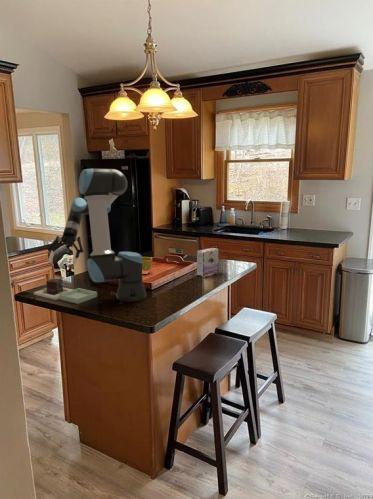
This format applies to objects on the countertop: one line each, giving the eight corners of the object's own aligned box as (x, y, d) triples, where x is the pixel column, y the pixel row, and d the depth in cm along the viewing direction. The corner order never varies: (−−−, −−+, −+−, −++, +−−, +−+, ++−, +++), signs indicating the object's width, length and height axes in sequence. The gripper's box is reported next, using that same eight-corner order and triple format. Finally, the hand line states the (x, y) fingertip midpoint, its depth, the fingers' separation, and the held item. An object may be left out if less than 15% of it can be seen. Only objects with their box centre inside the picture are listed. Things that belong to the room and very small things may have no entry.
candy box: (211, 272, 240) (212, 247, 236) (218, 274, 235) (219, 248, 232) (196, 276, 231) (196, 250, 227) (203, 278, 226) (203, 251, 223)
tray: (97, 296, 193) (96, 292, 192) (78, 304, 182) (77, 299, 181) (78, 292, 199) (78, 288, 199) (59, 299, 188) (59, 294, 188)
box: (57, 295, 194) (56, 282, 193) (46, 295, 195) (45, 281, 194) (63, 292, 200) (62, 278, 198) (53, 291, 201) (52, 278, 200)
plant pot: (148, 276, 230) (148, 261, 228) (133, 275, 234) (132, 259, 232) (155, 272, 240) (154, 257, 238) (140, 271, 243) (140, 256, 241)
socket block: (76, 292, 199) (76, 289, 199) (54, 299, 188) (54, 296, 187) (55, 287, 207) (55, 284, 207) (33, 294, 196) (33, 291, 195)
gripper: (93, 234, 218) (85, 266, 207) (52, 234, 221) (42, 265, 209) (90, 227, 212) (81, 259, 200) (47, 226, 215) (37, 257, 203)
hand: (61, 262), depth 205 cm, fingers open, 13 cm apart
